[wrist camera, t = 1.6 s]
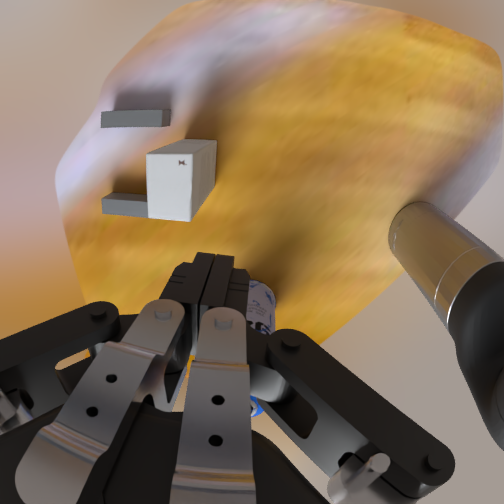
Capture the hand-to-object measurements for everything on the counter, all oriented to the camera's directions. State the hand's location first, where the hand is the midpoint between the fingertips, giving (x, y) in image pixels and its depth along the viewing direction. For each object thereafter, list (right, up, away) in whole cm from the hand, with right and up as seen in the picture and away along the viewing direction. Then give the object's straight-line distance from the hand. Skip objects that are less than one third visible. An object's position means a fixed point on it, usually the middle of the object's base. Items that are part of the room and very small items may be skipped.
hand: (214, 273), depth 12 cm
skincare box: (-5, +12, +22) cm, 26 cm away
